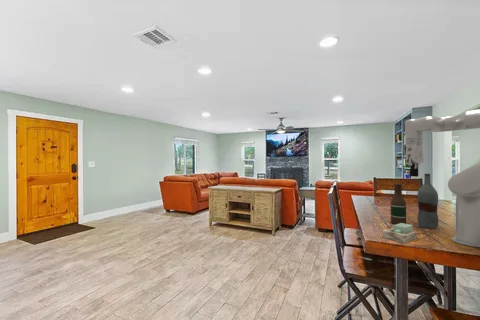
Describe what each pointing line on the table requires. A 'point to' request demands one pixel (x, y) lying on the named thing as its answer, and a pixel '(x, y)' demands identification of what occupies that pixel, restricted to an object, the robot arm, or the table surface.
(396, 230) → the bottle
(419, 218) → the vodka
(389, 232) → the cradle
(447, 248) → the table surface
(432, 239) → the table surface
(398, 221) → the beer bottle
